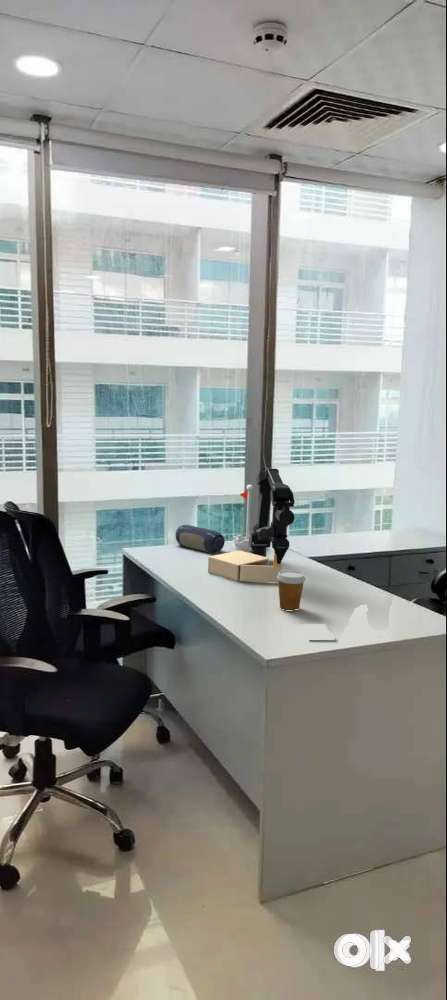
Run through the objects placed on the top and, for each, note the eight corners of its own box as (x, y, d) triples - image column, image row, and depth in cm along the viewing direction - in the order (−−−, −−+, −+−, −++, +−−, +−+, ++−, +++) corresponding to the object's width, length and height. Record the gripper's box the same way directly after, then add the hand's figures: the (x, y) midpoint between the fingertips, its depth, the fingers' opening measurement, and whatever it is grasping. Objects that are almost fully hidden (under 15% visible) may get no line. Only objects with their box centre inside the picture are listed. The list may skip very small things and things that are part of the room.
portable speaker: (171, 546, 303) (171, 524, 302) (186, 542, 311) (186, 522, 309) (211, 556, 287) (212, 533, 286) (226, 552, 295) (227, 530, 293)
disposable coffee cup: (273, 604, 224) (274, 569, 222) (300, 604, 225) (302, 570, 223) (277, 613, 214) (279, 577, 213) (306, 613, 215) (308, 578, 213)
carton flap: (280, 582, 250) (282, 554, 248) (280, 582, 249) (282, 555, 247) (239, 580, 249) (241, 553, 248) (239, 581, 248) (241, 553, 247)
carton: (239, 565, 273) (240, 550, 272) (268, 574, 261) (269, 558, 260) (208, 572, 260) (208, 556, 259) (237, 581, 249) (237, 565, 248)
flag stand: (266, 548, 306) (269, 484, 301) (252, 553, 295) (255, 487, 290) (241, 544, 312) (244, 481, 307) (227, 549, 301) (230, 484, 296)
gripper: (257, 514, 254) (255, 554, 257) (259, 524, 236) (257, 566, 238) (285, 516, 254) (283, 555, 257) (290, 525, 236) (288, 567, 238)
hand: (277, 560), depth 247 cm, fingers open, 9 cm apart
